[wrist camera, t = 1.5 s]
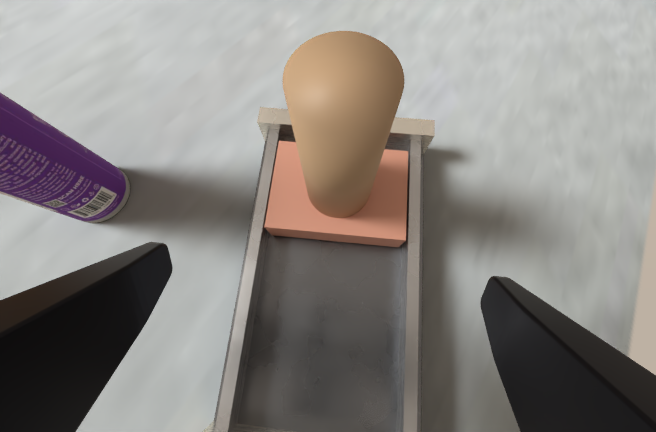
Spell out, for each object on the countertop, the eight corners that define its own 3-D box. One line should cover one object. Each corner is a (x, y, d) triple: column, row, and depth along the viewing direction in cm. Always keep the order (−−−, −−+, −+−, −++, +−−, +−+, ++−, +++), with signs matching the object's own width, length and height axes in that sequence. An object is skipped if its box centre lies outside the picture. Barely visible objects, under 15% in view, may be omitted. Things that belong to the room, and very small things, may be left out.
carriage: (398, 247, 20) (480, 172, 9) (271, 235, 20) (195, 148, 9) (401, 166, 22) (472, 16, 10) (284, 156, 22) (233, 2, 11)
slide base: (415, 463, 18) (435, 500, 14) (216, 437, 18) (189, 467, 15) (420, 146, 24) (434, 120, 20) (270, 134, 24) (260, 107, 21)
